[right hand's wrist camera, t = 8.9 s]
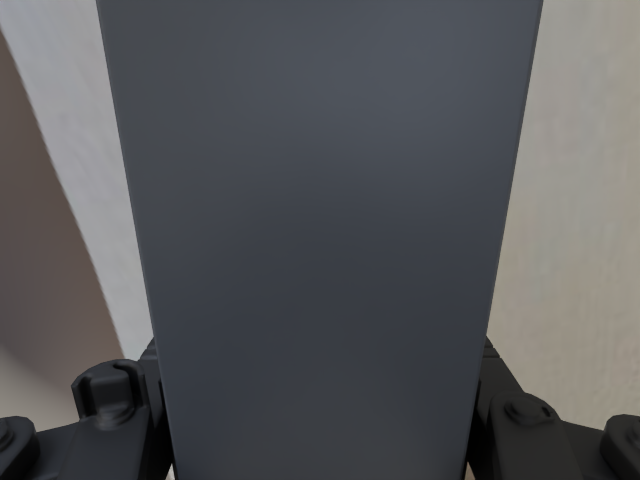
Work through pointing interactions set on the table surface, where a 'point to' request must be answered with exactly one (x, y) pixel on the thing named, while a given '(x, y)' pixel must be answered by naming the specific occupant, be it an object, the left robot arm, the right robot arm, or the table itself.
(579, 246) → the table surface
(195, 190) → the bar
